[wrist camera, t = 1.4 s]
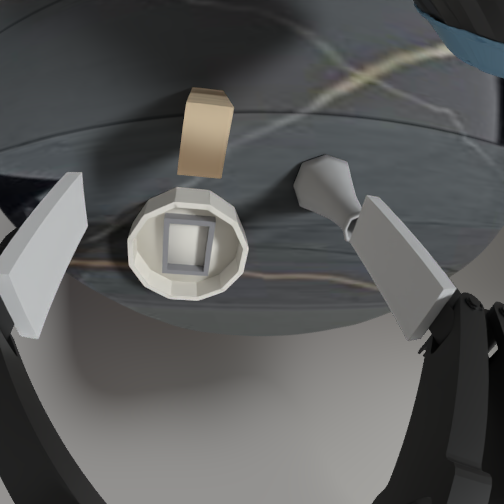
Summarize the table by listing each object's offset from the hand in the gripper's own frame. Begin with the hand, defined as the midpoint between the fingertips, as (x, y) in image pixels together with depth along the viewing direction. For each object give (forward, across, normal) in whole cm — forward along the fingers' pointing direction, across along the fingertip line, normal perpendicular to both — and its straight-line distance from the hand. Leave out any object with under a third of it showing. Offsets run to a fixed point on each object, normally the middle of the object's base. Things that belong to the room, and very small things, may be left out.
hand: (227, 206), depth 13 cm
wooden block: (+19, -1, 0) cm, 19 cm away
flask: (+19, +13, -6) cm, 24 cm away
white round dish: (+18, -2, -15) cm, 23 cm away
